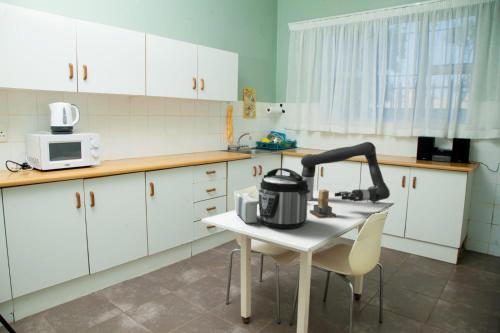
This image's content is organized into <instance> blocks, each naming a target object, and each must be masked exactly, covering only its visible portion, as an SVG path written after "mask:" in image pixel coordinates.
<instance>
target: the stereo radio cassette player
mask: <svg viewBox="0 0 500 333" xmlns="http://www.w3.org/2000/svg"><path fill="white" fill-rule="evenodd" d="M255 191H256V189H254V190H253V191H252V192H251V193H247V192H246V193H237V194H236V195H235V213H236V214H237V215H238V216H239V217H240V219H242V220H243V222H244V223H245V224H252V223H253V224H254V223H257V221H258V220H257V218H258V205H259V199H257V198H255V197H254V196H252V194H253V193H254V192H255Z"/></svg>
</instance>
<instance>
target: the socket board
mask: <svg viewBox="0 0 500 333" xmlns="http://www.w3.org/2000/svg"><path fill="white" fill-rule="evenodd" d="M309 214H311V215H312V216H314V217H316V218H318V219H322V218H323V219H325V218H335V217H337V214H336V213H334V212H333V207H332V206H331V205H328V207H326V208H320V207H318V204H314V205H313V209H312V210H311V209H310V210H309Z"/></svg>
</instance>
